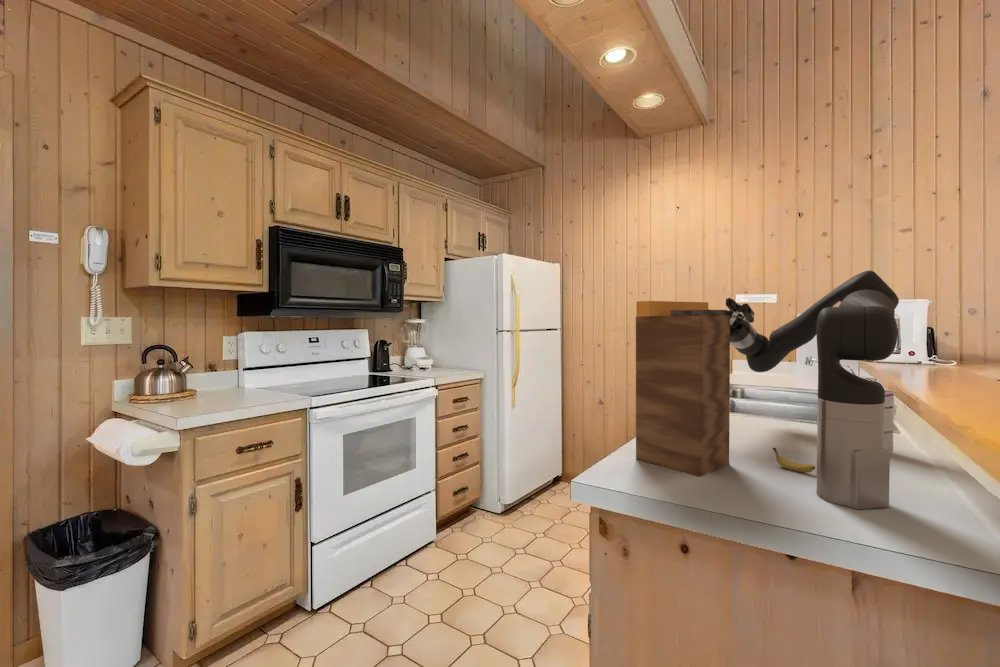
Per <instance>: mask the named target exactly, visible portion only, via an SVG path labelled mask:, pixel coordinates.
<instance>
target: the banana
mask: <svg viewBox="0 0 1000 667" xmlns="http://www.w3.org/2000/svg"><path fill="white" fill-rule="evenodd" d="M772 451H774V453H775V455H776V458H775V460H776V463H778V465H779V466H780V467H782V468H784V469H786V470H790V471H792V470H793V472H796V473H797V472H798V473H811V472H814V470H815V469H816V466H814V465H813V464H808V463H807V464H803V463H797V462H792V461H789V460H788V459H785V458H784V457H782V456H781V455H780V454H779V452H778V450H777V447H772Z"/></svg>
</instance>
